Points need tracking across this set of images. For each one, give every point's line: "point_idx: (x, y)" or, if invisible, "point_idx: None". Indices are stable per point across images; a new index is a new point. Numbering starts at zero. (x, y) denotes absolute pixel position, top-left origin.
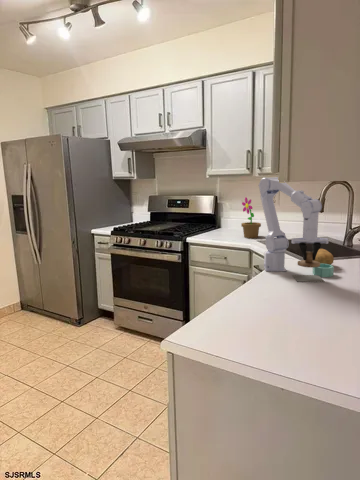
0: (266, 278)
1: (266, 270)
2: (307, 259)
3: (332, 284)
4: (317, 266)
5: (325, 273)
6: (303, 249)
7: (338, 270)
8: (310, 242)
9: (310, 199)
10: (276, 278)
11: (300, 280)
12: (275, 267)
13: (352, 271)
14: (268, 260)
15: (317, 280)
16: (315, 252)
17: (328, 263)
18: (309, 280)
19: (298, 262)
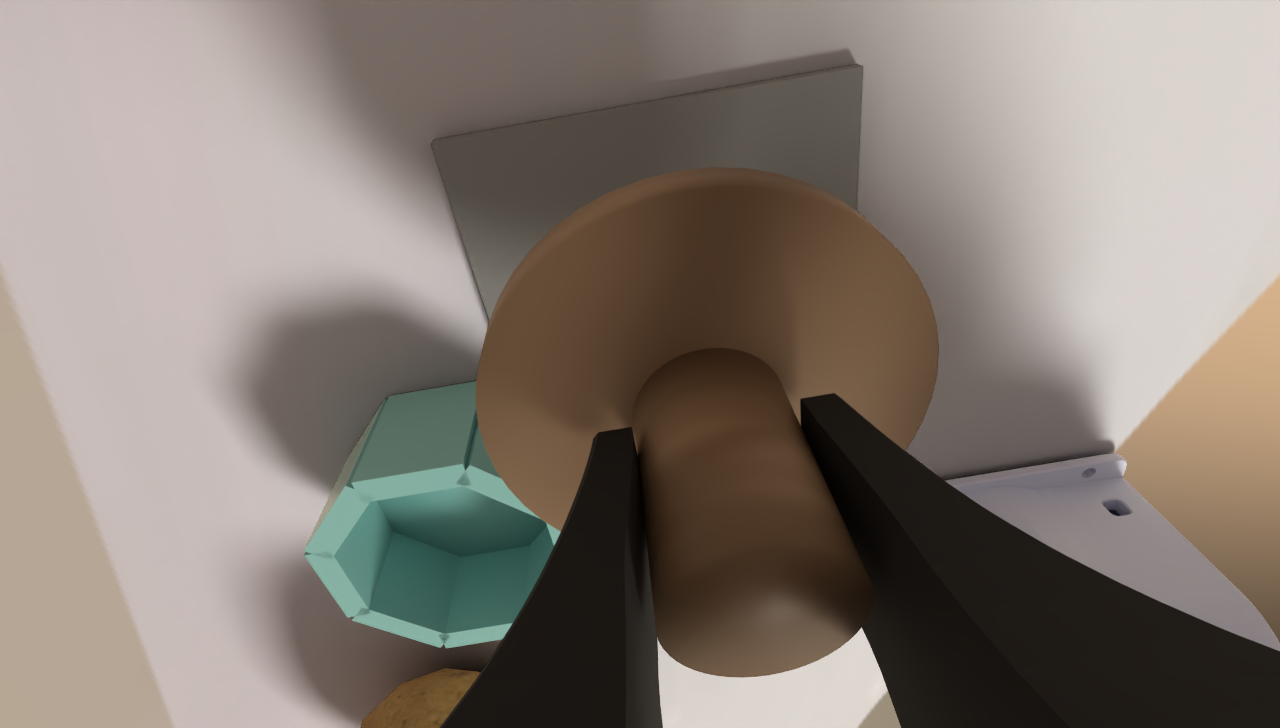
0: (1259, 161)
1: (1121, 456)
2: (773, 406)
3: (300, 42)
4: (536, 249)
5: (427, 418)
6: (1098, 596)
7: (315, 624)
8: None
9: None
10: (1110, 192)
11: (803, 113)
12: (1031, 510)
13: (167, 625)
14: (1185, 578)
15: (540, 170)
16: (589, 585)
17: (405, 693)
18: (662, 142)
19: (924, 374)
